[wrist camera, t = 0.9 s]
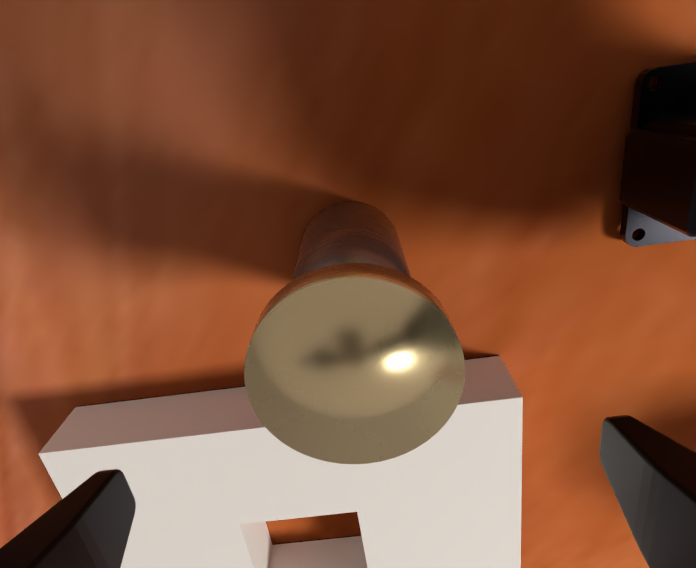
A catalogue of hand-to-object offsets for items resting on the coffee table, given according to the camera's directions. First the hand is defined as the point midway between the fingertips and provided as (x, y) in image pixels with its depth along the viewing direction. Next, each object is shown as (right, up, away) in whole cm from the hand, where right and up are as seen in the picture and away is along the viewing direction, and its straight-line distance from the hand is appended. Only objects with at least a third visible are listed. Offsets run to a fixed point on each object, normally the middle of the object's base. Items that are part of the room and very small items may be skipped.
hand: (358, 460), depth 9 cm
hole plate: (-2, -9, +16) cm, 19 cm away
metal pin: (0, +5, +11) cm, 12 cm away
